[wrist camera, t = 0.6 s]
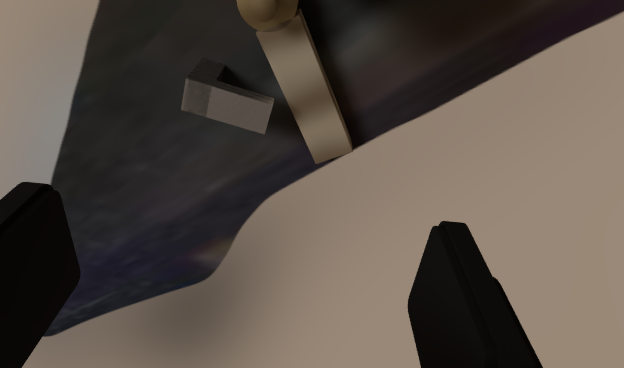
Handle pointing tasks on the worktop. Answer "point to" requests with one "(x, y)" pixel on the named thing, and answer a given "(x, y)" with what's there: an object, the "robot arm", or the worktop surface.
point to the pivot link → (299, 74)
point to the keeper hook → (224, 99)
